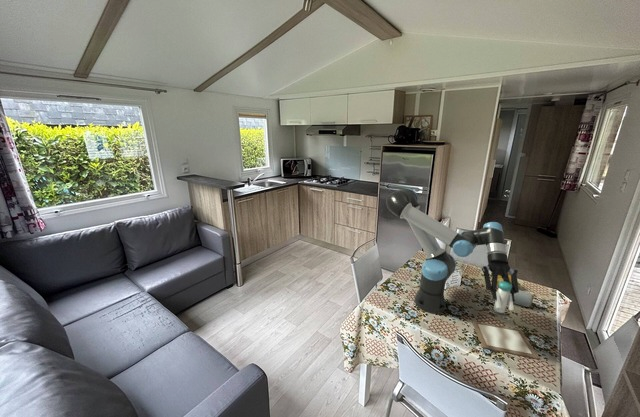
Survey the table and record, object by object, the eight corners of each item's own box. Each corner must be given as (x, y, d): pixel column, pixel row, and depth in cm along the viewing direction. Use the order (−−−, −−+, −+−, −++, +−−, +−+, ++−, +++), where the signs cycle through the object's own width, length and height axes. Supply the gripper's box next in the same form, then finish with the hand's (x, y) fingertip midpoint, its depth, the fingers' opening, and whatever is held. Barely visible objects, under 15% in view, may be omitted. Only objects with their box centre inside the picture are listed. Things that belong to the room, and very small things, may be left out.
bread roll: (515, 283, 154) (518, 271, 151) (522, 292, 145) (526, 280, 142) (491, 280, 157) (493, 268, 154) (497, 289, 148) (499, 276, 145)
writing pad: (482, 348, 106) (483, 346, 106) (472, 322, 121) (472, 320, 121) (539, 359, 101) (539, 358, 101) (521, 331, 116) (521, 329, 116)
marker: (495, 314, 108) (501, 286, 104) (491, 308, 112) (497, 280, 108) (506, 316, 107) (514, 287, 103) (502, 309, 111) (509, 281, 107)
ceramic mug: (531, 310, 130) (534, 297, 127) (511, 305, 134) (514, 292, 132) (527, 299, 138) (531, 287, 136) (509, 295, 142) (512, 283, 140)
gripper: (514, 259, 116) (524, 313, 106) (473, 255, 120) (478, 307, 110) (522, 254, 110) (534, 311, 99) (479, 249, 114) (485, 304, 103)
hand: (504, 308), depth 104 cm, fingers closed on marker, 4 cm apart
